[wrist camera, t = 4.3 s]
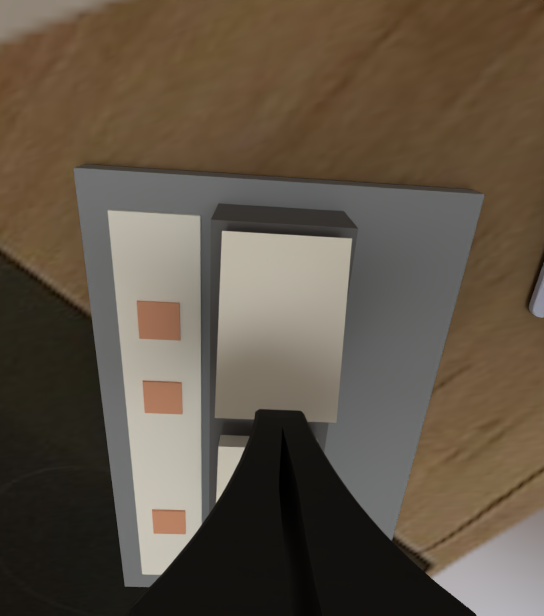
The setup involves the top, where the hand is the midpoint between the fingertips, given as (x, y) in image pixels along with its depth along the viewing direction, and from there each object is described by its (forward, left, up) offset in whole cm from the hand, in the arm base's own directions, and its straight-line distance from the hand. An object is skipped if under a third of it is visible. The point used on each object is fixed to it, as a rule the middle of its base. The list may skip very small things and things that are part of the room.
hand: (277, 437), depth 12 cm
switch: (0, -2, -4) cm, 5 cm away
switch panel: (0, +6, -8) cm, 11 cm away
